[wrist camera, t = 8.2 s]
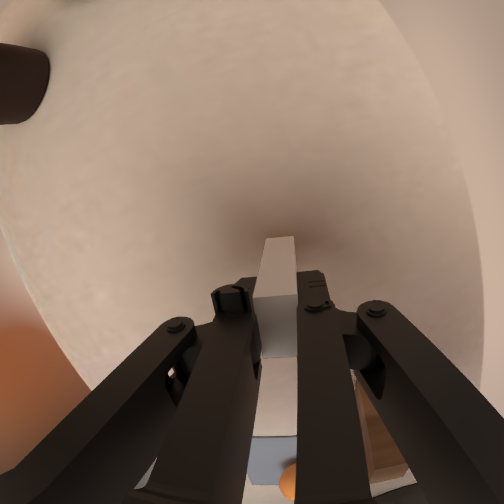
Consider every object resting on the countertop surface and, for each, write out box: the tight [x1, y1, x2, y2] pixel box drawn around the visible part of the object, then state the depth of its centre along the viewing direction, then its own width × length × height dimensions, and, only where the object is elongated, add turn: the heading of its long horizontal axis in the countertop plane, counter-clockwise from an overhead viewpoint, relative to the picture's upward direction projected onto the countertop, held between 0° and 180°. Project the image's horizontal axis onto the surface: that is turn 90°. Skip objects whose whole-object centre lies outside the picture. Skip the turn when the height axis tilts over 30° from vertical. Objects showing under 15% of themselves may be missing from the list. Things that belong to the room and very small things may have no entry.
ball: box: [279, 463, 296, 501], centre depth 24 cm, size 6×6×6 cm
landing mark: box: [247, 436, 297, 485], centre depth 26 cm, size 14×14×1 cm
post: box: [355, 379, 409, 484], centre depth 17 cm, size 3×3×9 cm
